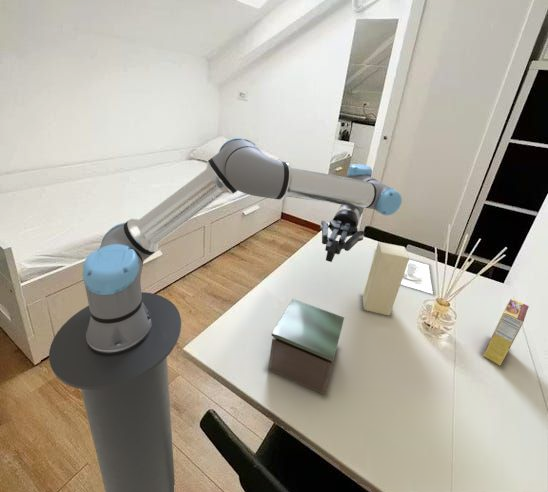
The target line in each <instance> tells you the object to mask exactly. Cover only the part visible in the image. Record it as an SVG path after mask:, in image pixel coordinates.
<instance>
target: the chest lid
mask: <svg viewBox="0 0 548 492" xmlns="http://www.w3.org/2000/svg"><path fill="white" fill-rule="evenodd" d="M344 321H345V317H344V316H341V315H339V314H336V313H332V312H331V311H328V310H324V309H322V308H319V307H316V306H313V305H311V304H308V303H305V302H302V301H300V300H297V299H294V298H292V299H291V301H290V303H289V305H288V306H287V308H286V309H285V310H284V312H283V314H282V316H281V317H280V319H279V321H278V323H277V324H276V326H275V327H274V329H273V331H272V332H271V337H272V338H273V337H275V338H278V339H280V340H282V341H285V342H287V343H290V344H292V345H294V346H297V347H299V348H302V349H304V350H307V351H309V352H311V353H314V354H316V355H319V356H321V357H323V358H326V359H328V360H331V361H333V362H334V360H333V359H335V356H336V352H337V349H336V348H338V345H337V344H339V341H338V340H340V337H341V333H342V329H343V325H344V324H343V323H344ZM340 332H341V333H340ZM339 336H340V337H339ZM335 351H336V352H335ZM334 355H335V356H334Z"/></svg>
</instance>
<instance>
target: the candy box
mask: <svg viewBox="0 0 548 492" xmlns="http://www.w3.org/2000/svg"><path fill="white" fill-rule="evenodd" d="M529 307H530V306H529V305H527V304H525V303H523V302H521V301H519V300H516V299H514V298H510V299H509V301H508V303H507V304H506V306H505V309H504V311H503V313H502V315H501V317H500V319H499V321H498V323H497V325H496V327H495V329H494V331H493V333H492V335H491V337H490V340H489V342H488V344H487V345H486V348H485V351H484V353H483V355H482V356H483V357H484V358H486V359H487V360H489V361H490V362H492V363H494V364H496V365H497V366H501V365H502V363H503V362H504V360H505V358H506V356H507V354H508V352H509V351H510V348H511V347H512V345H513V343H514V341H515V339H516V337H517V336H518V334H519V332H520V330H521V328H522V326H523V324H524V322H525V319H526V317H527V316H526V315H527V312H528V309H529Z"/></svg>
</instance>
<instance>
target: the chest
mask: <svg viewBox="0 0 548 492" xmlns="http://www.w3.org/2000/svg"><path fill="white" fill-rule="evenodd" d="M341 333H342V331H341V332H340V334H341ZM340 337H341V335H340V336H339V338H340ZM339 340H340V339H339ZM339 340H338V342H339ZM338 344H339V343H338ZM338 344H337V346H338ZM337 348H338V347H337ZM337 348H336V351H335V353H336V352H337ZM335 356H336V354H335V355H334V357H335ZM334 359H335V358H334ZM334 359H333V361H331V360H328V359H326V358H323V357H321V356H319V355H316V354H314V353H311V352H309V351H307V350H304V349H302V348H299V347H297V346H294V345H292V344H290V343H287V342H285V341H282V340H280V339H278V338H275V337H273V336H272V339H271V345H270V351H269V361H268V368H267V370H268V371H270V372H273V373H275V374H277V375H279V376H281V377H283V378H286V379H288V380H291V381H293V382H294V383H297V384H299V385H300V386H303V387H305V388H307V389H310V390H313V391H315V392H317V393H319V394H321V395H322V396H324V395H326V390H327V386H328V382H329V379H330V375H331V371H332V368H333V364H334Z"/></svg>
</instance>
